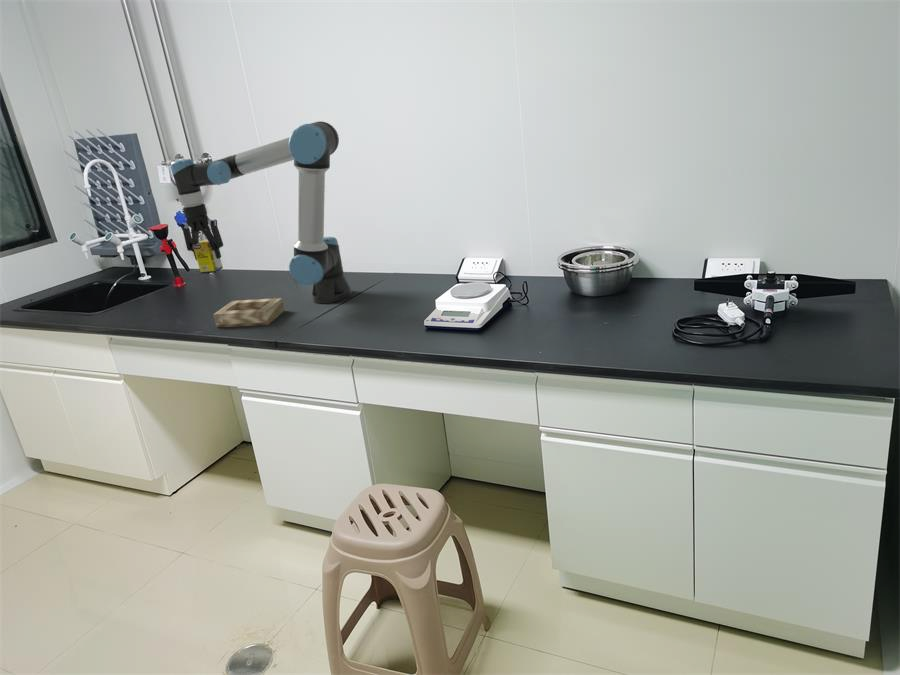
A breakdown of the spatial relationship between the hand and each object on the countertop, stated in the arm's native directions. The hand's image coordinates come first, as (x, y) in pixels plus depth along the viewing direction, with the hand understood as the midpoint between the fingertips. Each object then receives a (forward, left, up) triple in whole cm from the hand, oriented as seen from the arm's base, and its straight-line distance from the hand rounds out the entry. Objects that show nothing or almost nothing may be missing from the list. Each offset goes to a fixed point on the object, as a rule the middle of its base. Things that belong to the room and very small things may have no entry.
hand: (211, 267), depth 235 cm
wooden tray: (-15, +6, -18) cm, 24 cm away
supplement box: (0, 0, -2) cm, 2 cm away
